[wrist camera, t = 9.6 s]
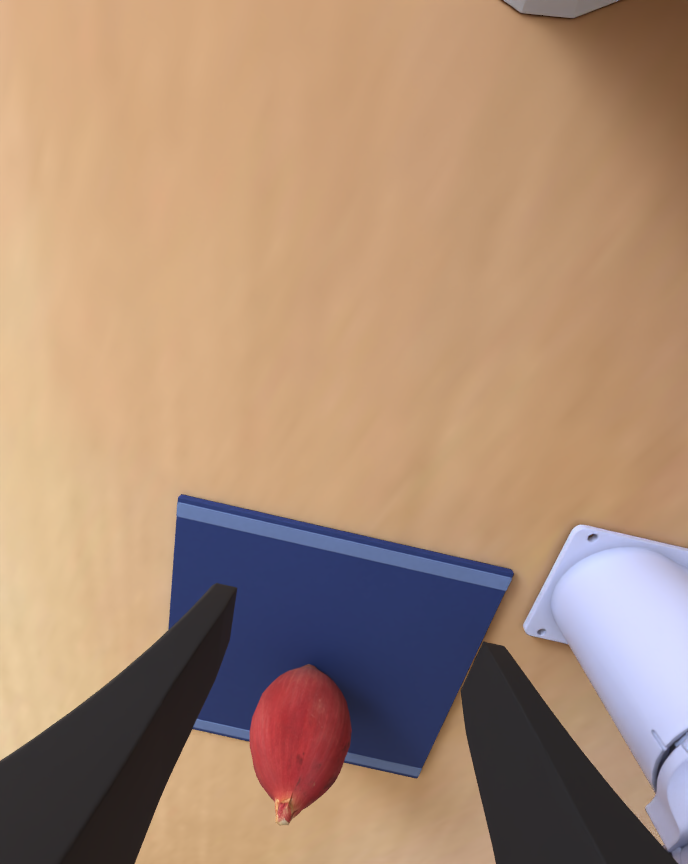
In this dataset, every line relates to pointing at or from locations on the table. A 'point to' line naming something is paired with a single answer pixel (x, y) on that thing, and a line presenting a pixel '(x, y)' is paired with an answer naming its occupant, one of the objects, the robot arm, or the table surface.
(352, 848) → the table surface
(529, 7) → the french press
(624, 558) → the robot arm
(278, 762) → the onion
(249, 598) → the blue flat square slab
